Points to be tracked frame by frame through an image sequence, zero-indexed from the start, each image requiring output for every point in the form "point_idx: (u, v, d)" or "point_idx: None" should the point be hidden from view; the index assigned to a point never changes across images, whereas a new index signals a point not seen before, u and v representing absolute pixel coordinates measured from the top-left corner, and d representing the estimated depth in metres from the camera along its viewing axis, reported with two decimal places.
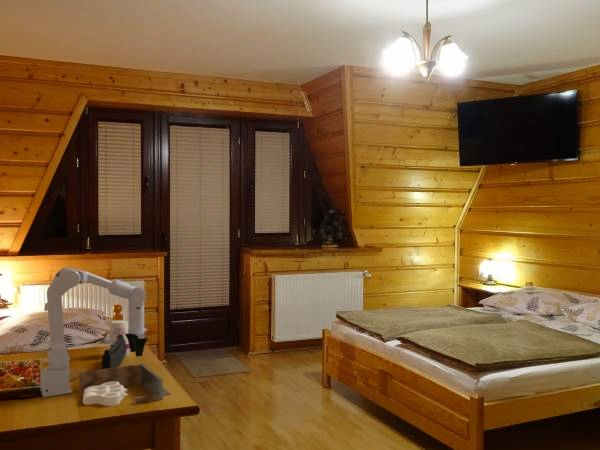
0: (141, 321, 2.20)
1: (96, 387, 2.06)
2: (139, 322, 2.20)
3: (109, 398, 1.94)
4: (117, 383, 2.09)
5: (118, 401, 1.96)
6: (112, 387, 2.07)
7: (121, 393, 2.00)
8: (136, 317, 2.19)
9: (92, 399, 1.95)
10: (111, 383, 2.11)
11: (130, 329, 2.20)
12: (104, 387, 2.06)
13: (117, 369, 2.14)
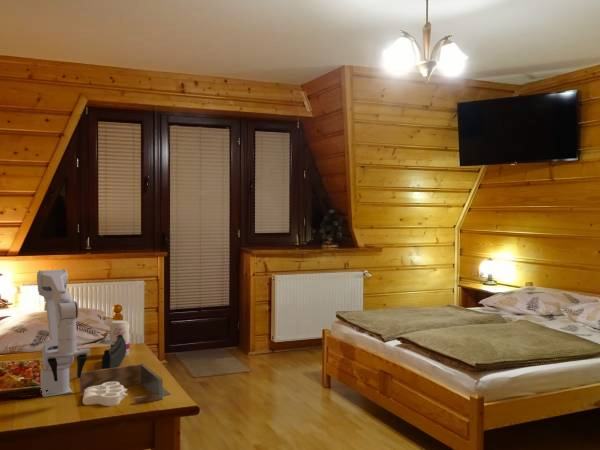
0: (59, 342, 1.93)
1: (96, 387, 2.06)
2: (58, 343, 1.93)
3: (109, 398, 1.94)
4: (117, 383, 2.09)
5: (118, 401, 1.96)
6: (112, 387, 2.07)
7: (121, 393, 2.00)
8: (57, 336, 1.94)
9: (92, 399, 1.95)
10: (111, 383, 2.11)
11: None
12: (104, 387, 2.06)
13: (117, 369, 2.14)
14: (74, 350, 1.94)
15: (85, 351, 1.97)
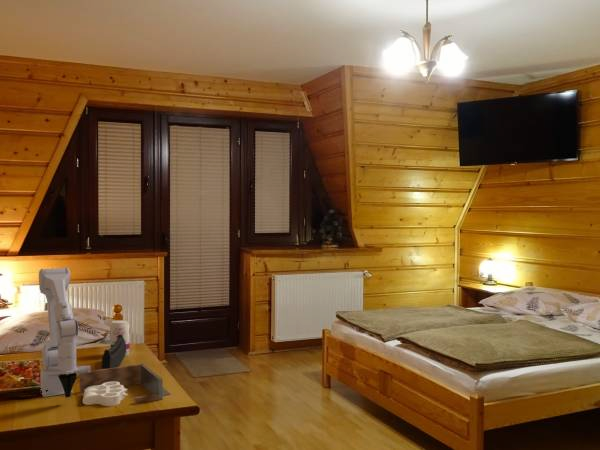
0: (59, 360, 1.93)
1: (96, 387, 2.06)
2: (58, 360, 1.93)
3: (109, 398, 1.94)
4: (117, 383, 2.09)
5: (118, 401, 1.96)
6: (112, 387, 2.07)
7: (121, 393, 2.00)
8: (57, 354, 1.94)
9: (92, 398, 1.95)
10: (111, 383, 2.11)
11: None
12: (104, 387, 2.06)
13: (117, 369, 2.14)
14: (74, 368, 1.95)
15: (85, 368, 1.97)
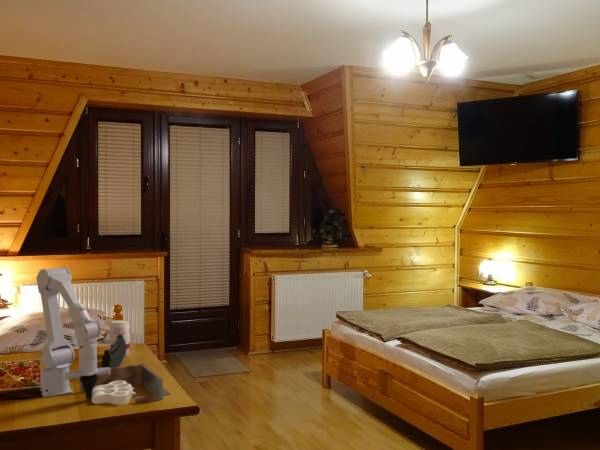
0: (81, 362, 1.96)
1: (103, 386, 2.06)
2: (79, 362, 1.97)
3: (118, 397, 1.95)
4: (124, 382, 2.10)
5: (127, 400, 1.97)
6: (119, 386, 2.08)
7: (130, 392, 2.01)
8: (79, 356, 1.97)
9: (101, 397, 1.96)
10: (118, 382, 2.12)
11: None
12: (111, 386, 2.07)
13: (117, 369, 2.14)
14: (95, 369, 1.98)
15: (105, 370, 2.01)
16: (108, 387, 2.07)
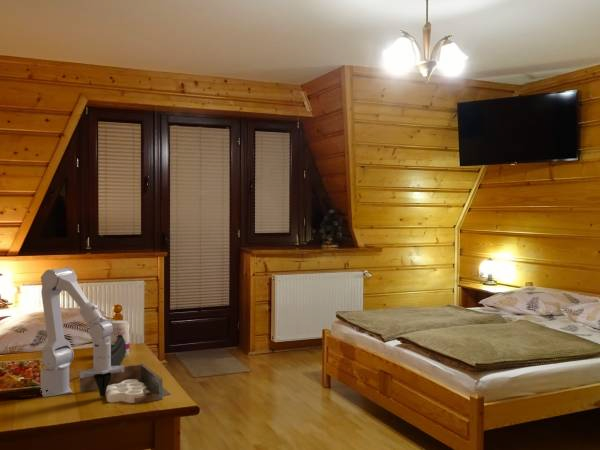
0: (95, 360, 1.99)
1: (116, 385, 2.08)
2: (94, 360, 1.99)
3: (134, 395, 1.97)
4: (136, 381, 2.12)
5: None
6: (132, 385, 2.09)
7: (144, 390, 2.03)
8: (95, 355, 1.99)
9: (116, 396, 1.98)
10: (130, 381, 2.13)
11: None
12: (124, 385, 2.09)
13: None
14: (109, 367, 2.01)
15: (119, 368, 2.03)
16: (121, 386, 2.09)
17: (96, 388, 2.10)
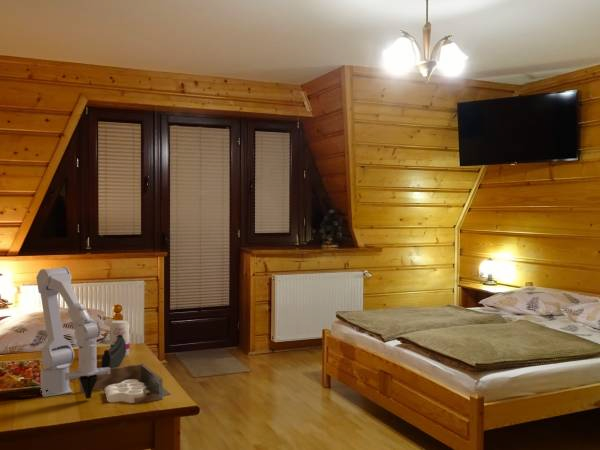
0: (80, 362, 1.96)
1: (117, 385, 2.08)
2: (79, 362, 1.97)
3: (134, 395, 1.97)
4: (137, 381, 2.12)
5: None
6: (132, 385, 2.09)
7: (144, 390, 2.03)
8: (79, 357, 1.97)
9: (116, 396, 1.98)
10: (130, 381, 2.13)
11: None
12: (124, 385, 2.09)
13: (117, 369, 2.14)
14: (95, 369, 1.98)
15: (105, 370, 2.01)
16: (121, 386, 2.09)
17: (96, 388, 2.10)
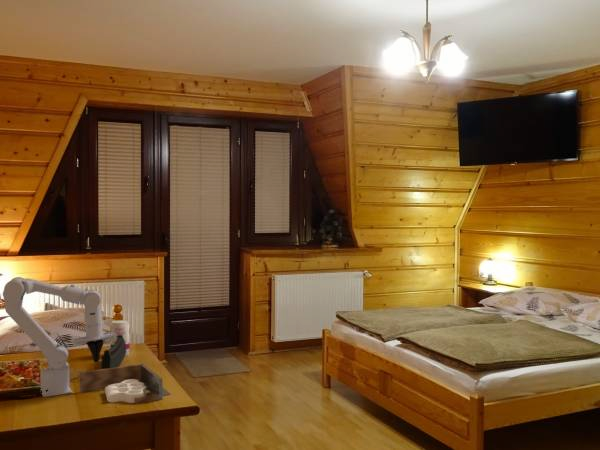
0: (87, 328, 2.09)
1: (117, 385, 2.08)
2: (86, 328, 2.09)
3: (134, 395, 1.97)
4: (137, 381, 2.12)
5: None
6: (132, 385, 2.09)
7: (144, 390, 2.03)
8: (91, 323, 2.08)
9: (116, 396, 1.98)
10: (130, 381, 2.13)
11: None
12: (125, 385, 2.09)
13: (117, 369, 2.14)
14: (101, 334, 2.11)
15: (111, 335, 2.13)
16: (121, 386, 2.09)
17: (96, 388, 2.10)
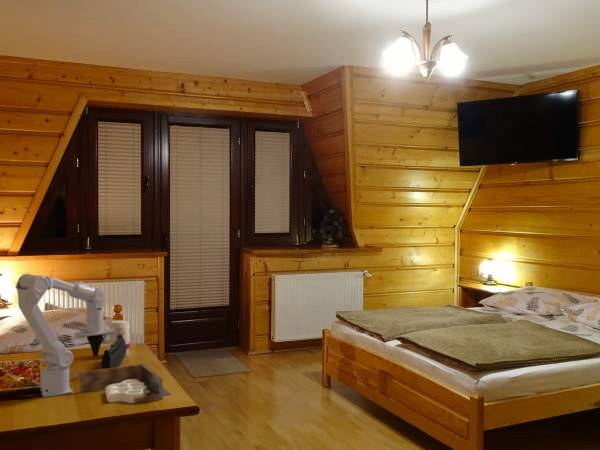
0: (88, 323, 2.18)
1: (117, 385, 2.08)
2: (87, 323, 2.18)
3: (134, 395, 1.97)
4: (137, 381, 2.12)
5: None
6: (133, 385, 2.09)
7: (144, 390, 2.03)
8: (98, 318, 2.18)
9: (116, 396, 1.98)
10: (131, 381, 2.13)
11: None
12: (125, 385, 2.09)
13: (117, 369, 2.14)
14: (101, 330, 2.19)
15: (111, 331, 2.22)
16: (121, 386, 2.09)
17: (96, 388, 2.10)
